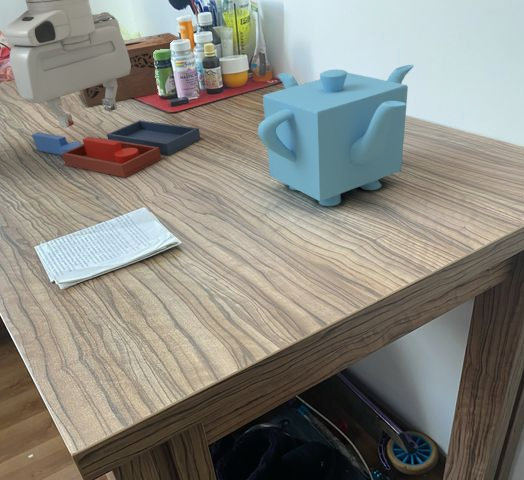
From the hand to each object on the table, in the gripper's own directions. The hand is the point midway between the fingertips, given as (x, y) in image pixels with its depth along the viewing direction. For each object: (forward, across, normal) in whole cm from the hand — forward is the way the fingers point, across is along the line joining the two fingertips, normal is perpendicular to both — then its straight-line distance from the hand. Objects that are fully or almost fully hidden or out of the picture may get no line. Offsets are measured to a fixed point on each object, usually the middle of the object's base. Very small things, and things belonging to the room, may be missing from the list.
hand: (89, 117), depth 86 cm
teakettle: (+7, -7, +44) cm, 45 cm away
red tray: (+7, 0, +2) cm, 8 cm away
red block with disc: (+7, 0, +2) cm, 7 cm away
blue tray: (+7, -11, +2) cm, 13 cm away
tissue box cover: (+8, -39, -32) cm, 51 cm away
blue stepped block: (+8, 0, -12) cm, 14 cm away
